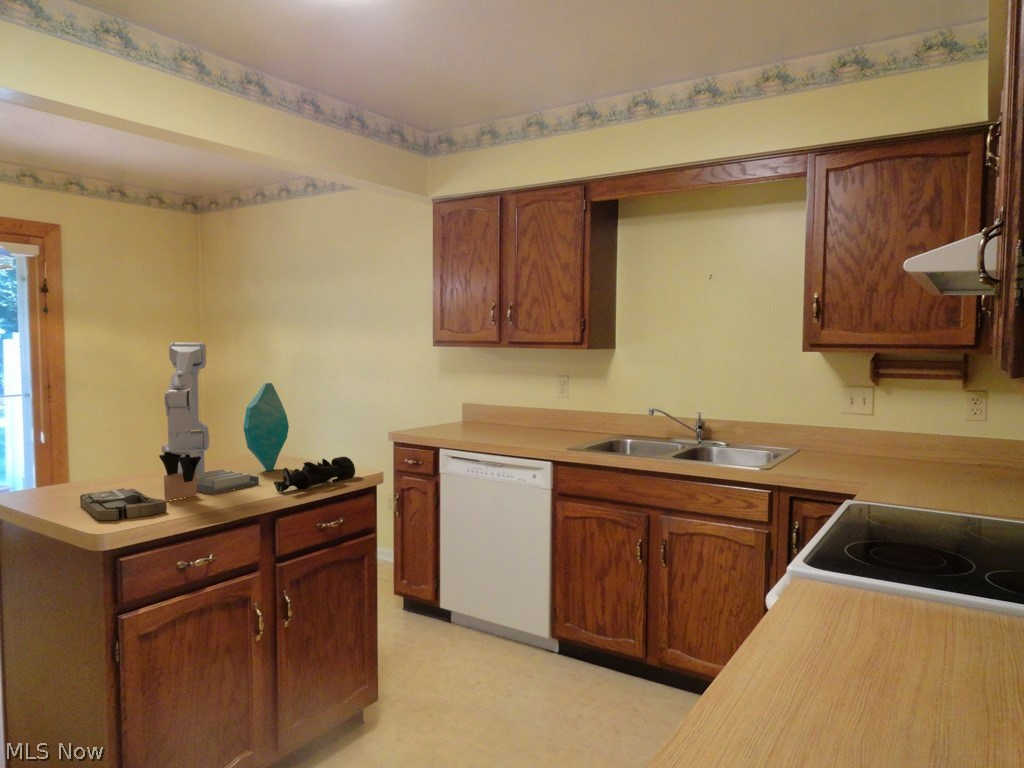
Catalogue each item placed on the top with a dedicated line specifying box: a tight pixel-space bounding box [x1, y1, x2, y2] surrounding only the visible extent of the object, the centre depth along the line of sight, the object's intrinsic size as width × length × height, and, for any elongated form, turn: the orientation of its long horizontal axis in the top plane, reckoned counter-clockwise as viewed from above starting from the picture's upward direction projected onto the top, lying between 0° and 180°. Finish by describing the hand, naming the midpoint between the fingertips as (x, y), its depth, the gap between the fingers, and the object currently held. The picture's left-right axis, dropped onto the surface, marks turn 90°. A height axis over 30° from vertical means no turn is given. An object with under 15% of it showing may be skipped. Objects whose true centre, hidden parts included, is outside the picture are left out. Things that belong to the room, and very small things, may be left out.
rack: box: [196, 468, 260, 495], centre depth 199 cm, size 17×16×4 cm
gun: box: [79, 488, 168, 521], centre depth 171 cm, size 4×24×15 cm
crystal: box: [242, 382, 289, 472], centre depth 222 cm, size 12×14×30 cm
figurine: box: [272, 456, 356, 493], centre depth 202 cm, size 8×30×8 cm, turn 148°
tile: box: [163, 472, 198, 500], centre depth 183 cm, size 2×8×7 cm, turn 148°
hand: (180, 480), depth 183 cm, fingers open, 7 cm apart
